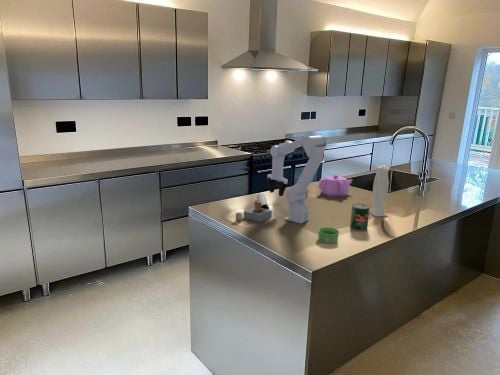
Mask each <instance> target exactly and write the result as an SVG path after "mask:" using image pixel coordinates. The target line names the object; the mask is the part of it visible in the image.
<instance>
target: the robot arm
mask: <svg viewBox="0 0 500 375" xmlns="http://www.w3.org/2000/svg"><path fill="white" fill-rule="evenodd" d="M327 146H328V144H327V140H326V138H325V136H324V135H322V134H318V135H305V136H302V137H300V138H297V139H296V140H294V141H291V140H288V139H287V140H285V141H284V142H283V143H281V142H280V143H278V144H277V145H275V144H274V145H272V146H271V148H270V155H271V156H272V160H271V161H272V164H271V165H272V166H271V173H269V174H267V177H266V178H267V179H266V182H267V185H268V190H269V192H270V193H275V190H276V189H275V188H276V183H277V187H278V195H279V196H278V197H282V196H283V197H284V194H285V197H286V200H287V202H288V216H286V217H285V218H284V220H286V221H290V222H293V223H297V224H303V223H305V222H307V221H309V219H310V218H309V211H310V207H309V205H308V204H307V203H305V202H306V200H307V199H308V196H309V192H310V188H309V185H310V184H311V181H312V180H313V178H314V176H315V174H316V173H317V170H318V169H319V167H320V165H321V163H322V162H323V159H324V154H325V149H326V148H327ZM300 147H302V148H303V150H304V152H305V153H306V155H307V157H308V158H309V159H308V160H307V163H306V165H305V166H304V168H303V170H302V172H301V174H300V176H299V177H298V180H297V182H296V183H295V184H294V185H292V186H291V187H290V189H288V190H287V191H286V193H285V190H286V189H287V187H288V186H289V182H288V180H289V179H287V178H285V177H284V162H285V161H284V160H285V158H286V155H288V154H292V153H294V152H295V149H297V148H300Z"/></svg>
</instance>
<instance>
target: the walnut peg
mask: <svg viewBox="0 0 500 375" xmlns="http://www.w3.org/2000/svg"><path fill="white" fill-rule="evenodd" d="M254 207H255V211H254V212H257V213H260V212H261V202H259V201H257V200H256V201H254Z"/></svg>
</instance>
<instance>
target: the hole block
mask: <svg viewBox="0 0 500 375" xmlns="http://www.w3.org/2000/svg"><path fill="white" fill-rule="evenodd" d="M254 211H255V206H254V207H251V208H249V209H245V210H244V211H243V218H244V219H247V220H250V221H254V222H258V223H262V222H264V221H266V220H268V219H271V218H272V215H273V214H272V213H273V212H272V211H273V210H272V209H271V210H270V209H269V210H268V209H264V208H261V212H260V213H257V212H254Z"/></svg>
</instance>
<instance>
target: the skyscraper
mask: <svg viewBox="0 0 500 375" xmlns="http://www.w3.org/2000/svg"><path fill="white" fill-rule="evenodd" d="M375 169H376V173H375V176H374V180H373V186H372V204H373V206H372V208H371V211H369V215H371V214H372V216H373V217H374V216H375V217H374V218H387V217H389V215H388V214H386V213H385V209H384V205H385V202H386V200H387V199H386V198H387V196H388V192H389V171H390V169H391V165H390V163H387V164H386V165H384V164H383V165H381V164H377V165H376V166H375Z"/></svg>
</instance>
